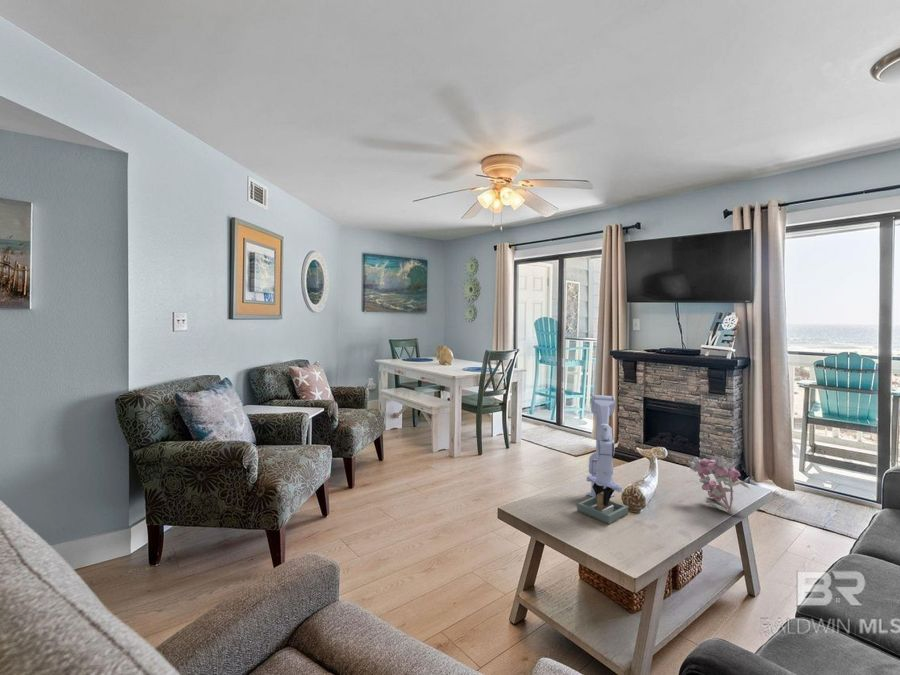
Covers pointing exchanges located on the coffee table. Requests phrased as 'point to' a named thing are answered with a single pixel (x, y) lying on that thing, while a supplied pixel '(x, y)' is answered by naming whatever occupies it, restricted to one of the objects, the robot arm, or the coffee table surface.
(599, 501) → the wood block
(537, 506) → the coffee table surface
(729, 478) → the flower
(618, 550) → the coffee table surface
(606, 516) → the slotted divider tray
